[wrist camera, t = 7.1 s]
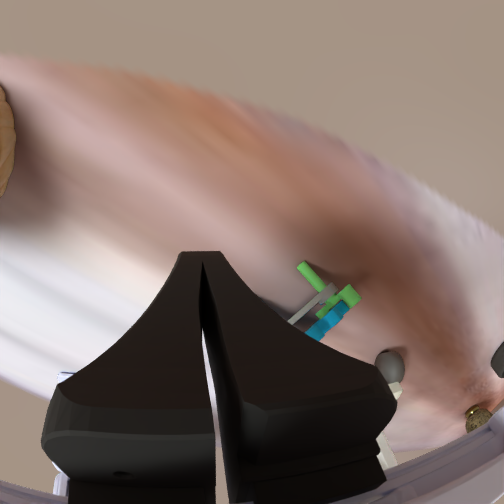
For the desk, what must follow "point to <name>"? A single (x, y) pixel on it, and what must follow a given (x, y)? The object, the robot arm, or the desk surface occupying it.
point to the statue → (6, 142)
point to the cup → (476, 418)
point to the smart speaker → (498, 361)
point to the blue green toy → (330, 298)
